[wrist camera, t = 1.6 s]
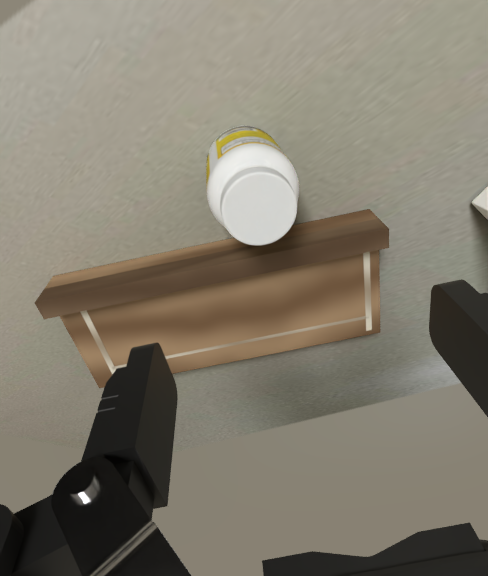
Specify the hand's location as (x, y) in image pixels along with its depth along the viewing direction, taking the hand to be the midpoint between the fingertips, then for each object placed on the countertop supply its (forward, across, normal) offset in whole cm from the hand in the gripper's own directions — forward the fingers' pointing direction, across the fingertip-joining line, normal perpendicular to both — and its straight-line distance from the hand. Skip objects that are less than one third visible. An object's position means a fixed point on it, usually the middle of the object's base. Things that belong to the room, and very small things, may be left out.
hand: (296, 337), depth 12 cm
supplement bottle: (+20, 0, 0) cm, 20 cm away
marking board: (+20, +4, +11) cm, 23 cm away
